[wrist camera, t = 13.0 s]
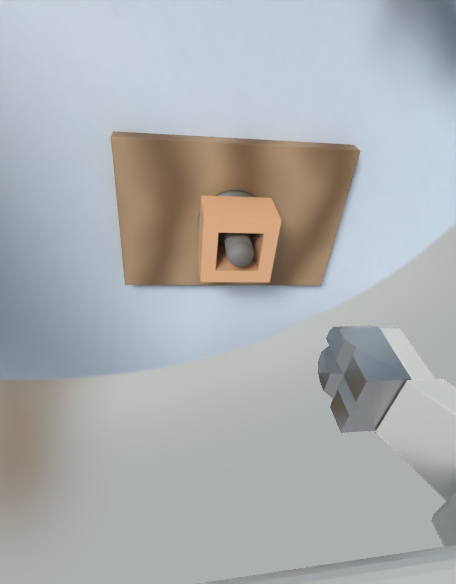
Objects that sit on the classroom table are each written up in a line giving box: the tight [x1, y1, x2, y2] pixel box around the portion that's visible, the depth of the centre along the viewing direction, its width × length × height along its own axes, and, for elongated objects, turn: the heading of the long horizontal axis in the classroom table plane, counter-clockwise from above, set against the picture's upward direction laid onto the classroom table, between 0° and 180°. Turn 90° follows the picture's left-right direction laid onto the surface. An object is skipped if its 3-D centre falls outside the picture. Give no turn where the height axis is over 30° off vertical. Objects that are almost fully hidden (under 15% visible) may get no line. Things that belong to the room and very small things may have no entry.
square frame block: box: [198, 195, 281, 282], centre depth 33 cm, size 6×6×4 cm
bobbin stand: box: [111, 132, 360, 285], centre depth 33 cm, size 20×14×8 cm
